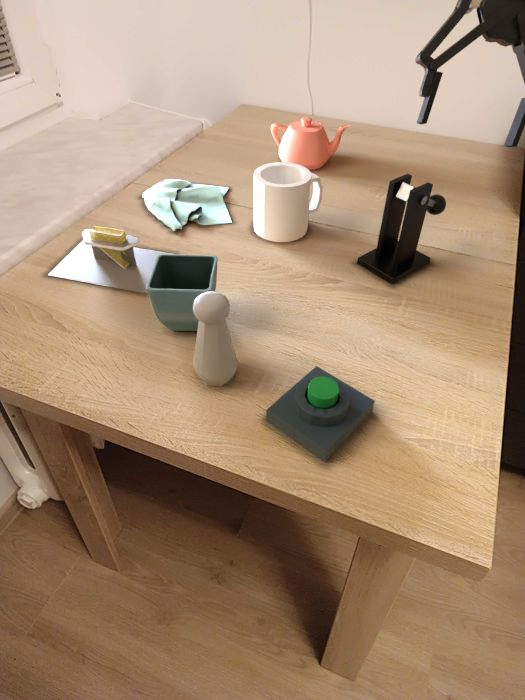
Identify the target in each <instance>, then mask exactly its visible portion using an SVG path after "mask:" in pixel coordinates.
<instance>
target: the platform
mask: <svg viewBox="0 0 525 700" xmlns="http://www.w3.org/2000/svg"><path fill="white" fill-rule="evenodd" d="M92 227H93V229H92V228H85V229H84V230H83V231H82V232H81V236H82V240H81V241H80V242H79V243H78V244H77V245H76V246H75V247H74V248H73V249H72V250H71V251H70V252H69V253H68V254H67V255H65V256H64V258H63V259H61V261H60V262H59V263H58V264H57V265H56V266H55V267H54V268H53V269H52V270H51V271H50V272H49V273H48V274H47V276H50V277H55V278H61V279H66V280H71V281H77V282H82V283H88V284H93V285H97V286H98V285H99V286H102V287H103V286H104V287H108V288H114V289H120V290H124V291H125V290H126V291H132V292H136V293H142V294H148V293H147V290H146V286H147V283H148V281H149V278H150V275H151V272H152V270H153V267H154V264H155V261H156V258H157V256H158V255H159V254H174V255H176V253H172V252H165V251H159V250H153V249H148V248H141V247H136V246H137V245H138V243H139V242H140V237H139V236H135V235H130V234H129V235H128V234H126V230H123V229H118V228H112V227H106V226H99V225H93V226H92Z"/></svg>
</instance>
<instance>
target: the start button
mask: <svg viewBox="0 0 525 700" xmlns="http://www.w3.org/2000/svg"><path fill="white" fill-rule="evenodd" d="M338 393H339V386H338V384H337V383H336V382H335V381H334V380H333V379H331V378H328V377H316V378H314V379H313V380H311V381H310V383H309V385H308V394H307V397H308V400H309V402H310V403H311V404H312V405H313V406H315V407H317V408H322V409H325V408H330V407H332V406H334V405H335V404H336V402H337V399H338Z"/></svg>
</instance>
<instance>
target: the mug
mask: <svg viewBox="0 0 525 700" xmlns="http://www.w3.org/2000/svg"><path fill="white" fill-rule="evenodd" d="M312 185H313V188H312ZM311 189H312V197H311ZM323 189H324V186H323V184H322V181H321V177H320V176H319V175H316V174H315V173H312V171H311V170H308V169H307V168H306V167H304V166H301V165H299V164H294V163H288V162H282V161H275V162H268V163H264V164H262V165H260V166H258V167H257V168H256V169H255V170H254V172H253V230H254V232H255V233H256V235H257V236H258V237H261V238H262V239H264V240H266V241H268V242H269V241H270V242H274V243H275V242H276V243H288V242H289V243H290V242H293V241H297V240H300V239H301V238H303V237H304V236H305V235H306V234H307V231H308V226H309V214H312V213H316V212H318V211H319V209H320V206H321V202H322V200H323Z"/></svg>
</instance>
